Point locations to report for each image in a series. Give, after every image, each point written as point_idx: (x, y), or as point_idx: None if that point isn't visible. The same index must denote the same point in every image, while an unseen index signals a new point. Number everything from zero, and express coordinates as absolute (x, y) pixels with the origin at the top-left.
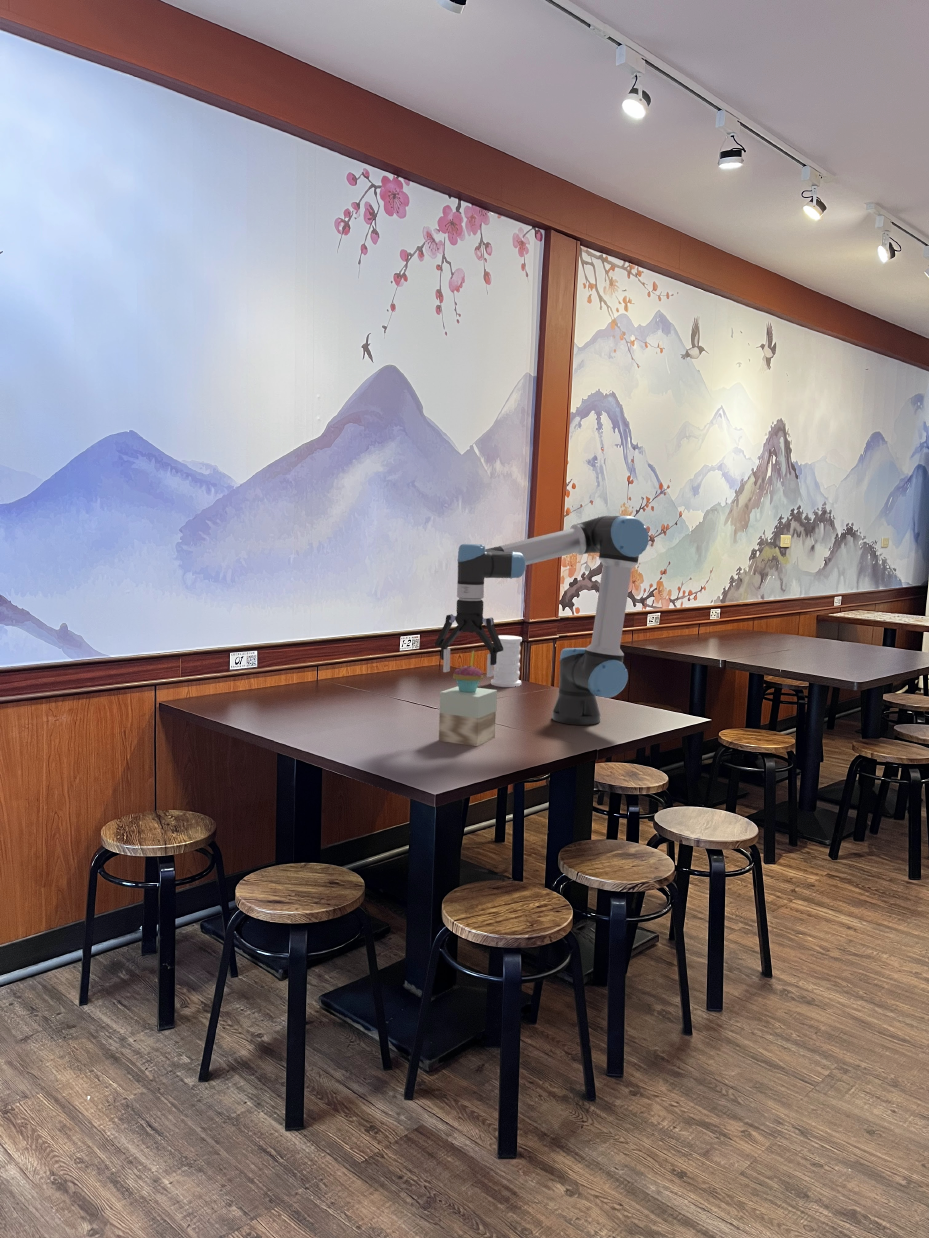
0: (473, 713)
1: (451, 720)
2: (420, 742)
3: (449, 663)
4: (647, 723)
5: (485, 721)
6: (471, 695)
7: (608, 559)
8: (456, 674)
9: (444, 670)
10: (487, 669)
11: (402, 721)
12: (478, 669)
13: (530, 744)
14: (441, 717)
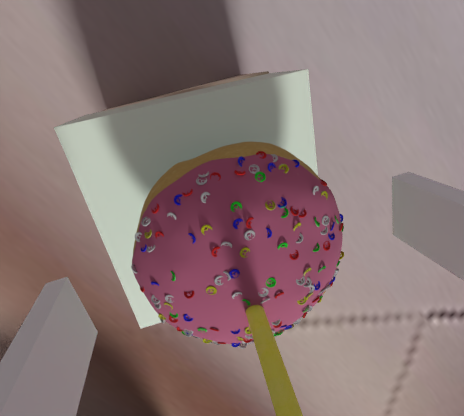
0: (104, 111)
1: (209, 85)
2: (265, 5)
3: (433, 253)
4: None
5: None
6: (117, 129)
7: None
8: (276, 155)
9: (408, 178)
10: (40, 318)
11: (435, 171)
12: (185, 317)
13: (21, 247)
14: (254, 74)
